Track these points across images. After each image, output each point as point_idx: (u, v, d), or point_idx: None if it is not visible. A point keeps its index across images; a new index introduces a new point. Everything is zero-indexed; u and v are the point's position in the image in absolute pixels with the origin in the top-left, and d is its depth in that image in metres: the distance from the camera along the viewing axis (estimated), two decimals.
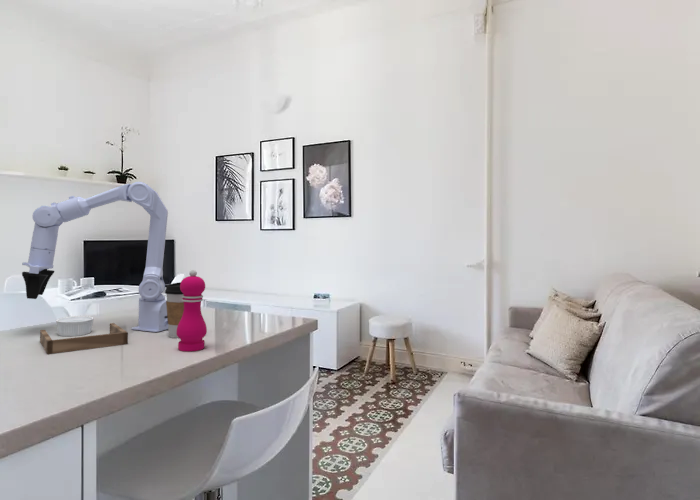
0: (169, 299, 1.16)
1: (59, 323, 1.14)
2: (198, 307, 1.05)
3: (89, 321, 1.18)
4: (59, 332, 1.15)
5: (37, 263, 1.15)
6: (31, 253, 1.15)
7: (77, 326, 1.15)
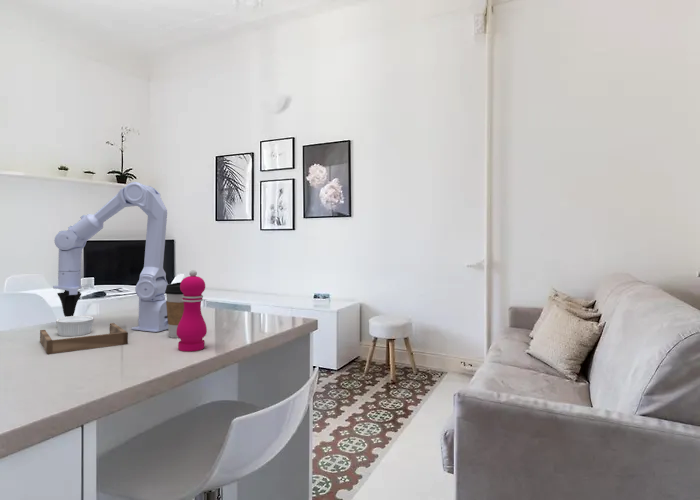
0: (169, 299, 1.16)
1: (59, 323, 1.14)
2: (198, 307, 1.05)
3: (89, 321, 1.18)
4: (59, 332, 1.15)
5: (70, 285, 1.23)
6: (62, 276, 1.23)
7: (77, 326, 1.15)
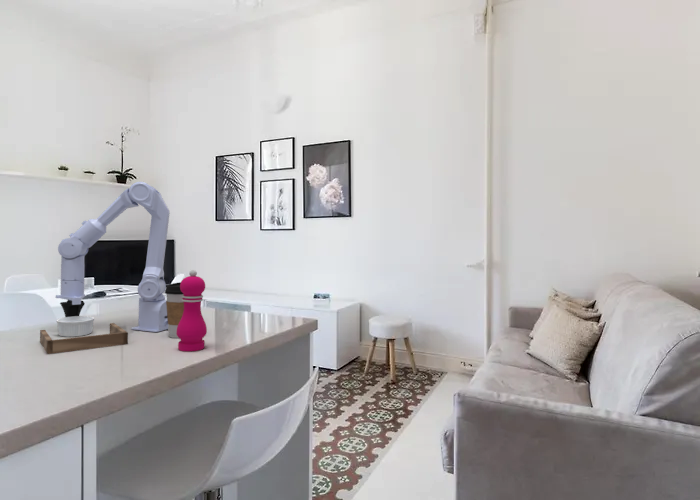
0: (169, 299, 1.16)
1: (59, 323, 1.14)
2: (198, 307, 1.05)
3: (90, 321, 1.17)
4: (60, 332, 1.14)
5: (73, 294, 1.20)
6: (64, 285, 1.19)
7: (77, 326, 1.14)
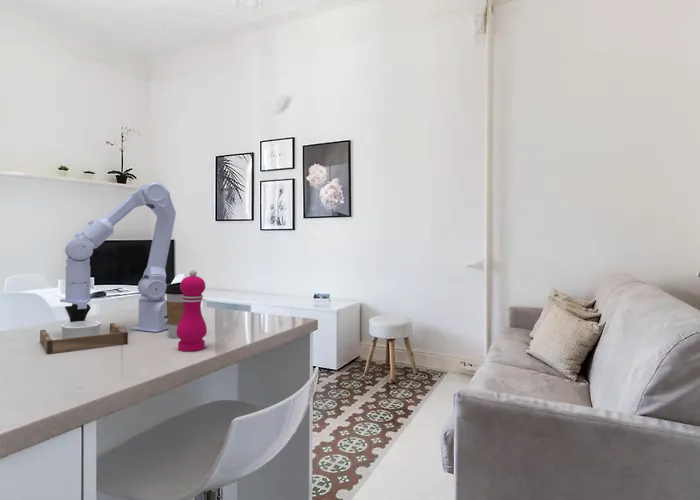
0: (169, 299, 1.16)
1: (64, 329, 1.07)
2: (198, 307, 1.05)
3: (96, 326, 1.11)
4: (64, 338, 1.08)
5: (78, 298, 1.13)
6: (70, 289, 1.13)
7: (83, 332, 1.08)
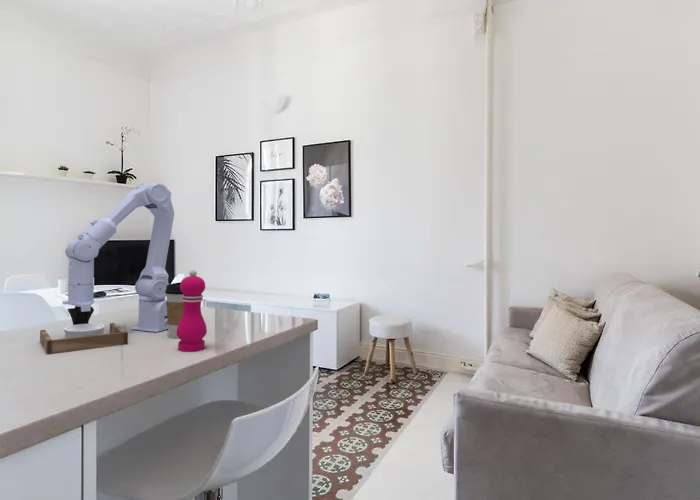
0: (169, 299, 1.16)
1: (67, 332, 1.04)
2: (198, 307, 1.05)
3: (100, 329, 1.07)
4: None
5: (81, 300, 1.10)
6: (72, 290, 1.09)
7: (87, 335, 1.05)
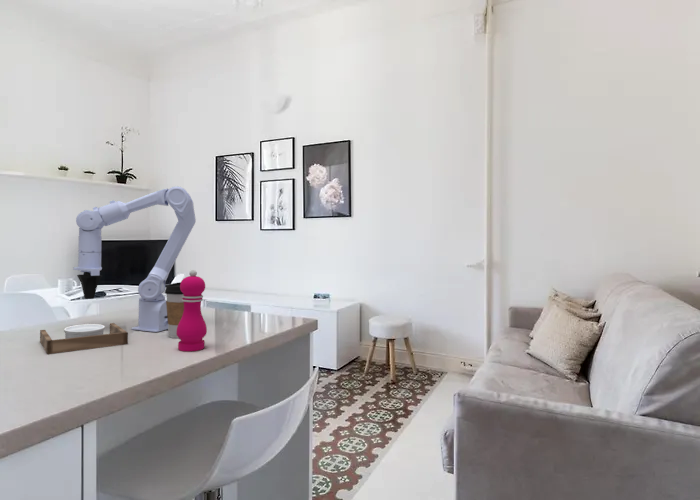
0: (169, 299, 1.16)
1: (67, 333, 1.04)
2: (198, 307, 1.05)
3: (100, 330, 1.07)
4: None
5: (91, 266, 1.20)
6: (82, 257, 1.19)
7: None
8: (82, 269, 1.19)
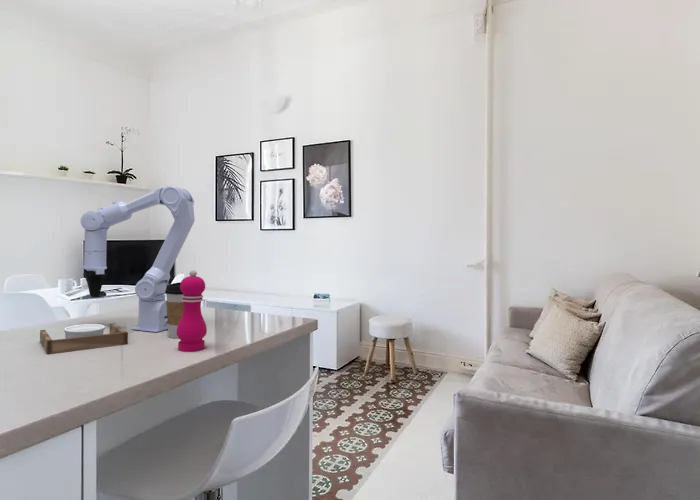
0: (169, 299, 1.16)
1: (68, 333, 1.04)
2: (198, 307, 1.05)
3: (100, 330, 1.07)
4: None
5: (96, 265, 1.24)
6: (88, 257, 1.24)
7: None
8: (88, 268, 1.23)
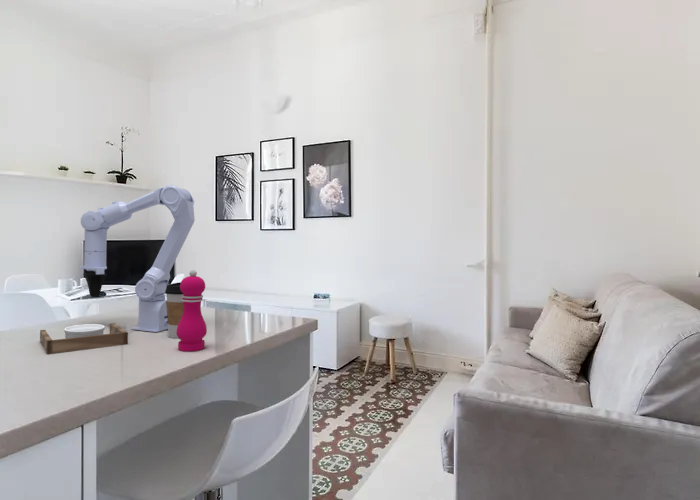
0: (169, 299, 1.16)
1: (68, 333, 1.04)
2: (198, 307, 1.05)
3: (100, 330, 1.07)
4: None
5: (96, 265, 1.24)
6: (88, 257, 1.24)
7: None
8: (88, 268, 1.23)
